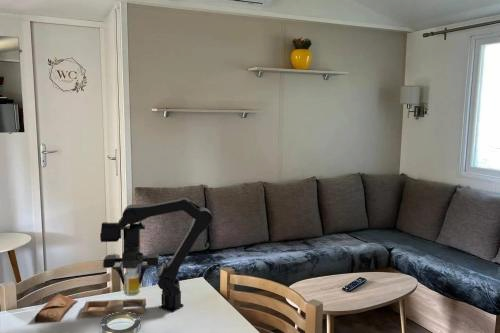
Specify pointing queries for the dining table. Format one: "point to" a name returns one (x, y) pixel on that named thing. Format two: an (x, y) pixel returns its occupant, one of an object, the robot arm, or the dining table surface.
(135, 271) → the supplement bottle
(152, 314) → the dining table surface
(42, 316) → the sunglasses case
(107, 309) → the walnut dock
